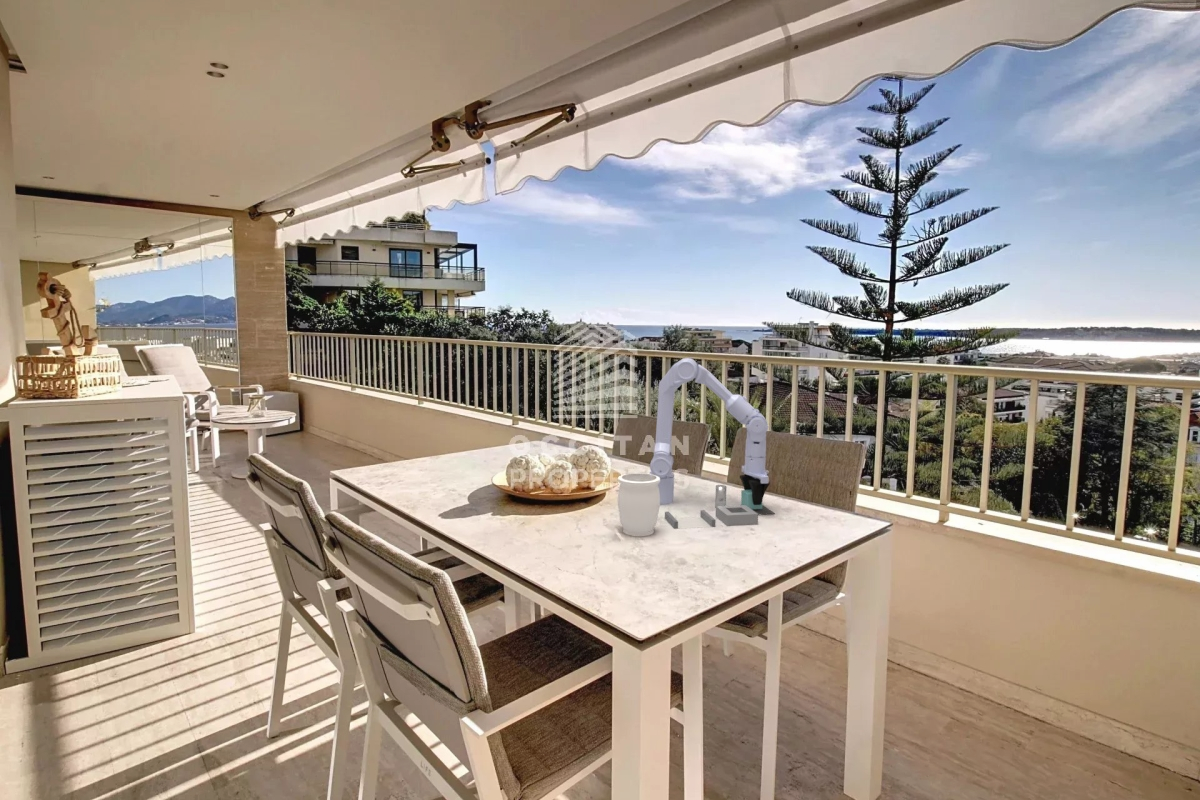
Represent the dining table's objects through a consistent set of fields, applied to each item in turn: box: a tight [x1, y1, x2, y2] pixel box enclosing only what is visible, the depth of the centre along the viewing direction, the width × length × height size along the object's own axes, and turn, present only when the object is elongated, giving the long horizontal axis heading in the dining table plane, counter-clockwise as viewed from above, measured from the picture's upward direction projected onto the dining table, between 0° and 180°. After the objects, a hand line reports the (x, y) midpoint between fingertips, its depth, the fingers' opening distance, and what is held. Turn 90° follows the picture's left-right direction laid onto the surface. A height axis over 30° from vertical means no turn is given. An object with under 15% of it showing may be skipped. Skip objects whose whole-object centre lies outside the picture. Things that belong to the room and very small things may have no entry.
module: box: [740, 489, 764, 509], centre depth 183 cm, size 4×4×4 cm
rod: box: [714, 484, 727, 509], centre depth 181 cm, size 3×3×8 cm
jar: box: [617, 472, 660, 537], centre depth 159 cm, size 11×10×15 cm
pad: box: [752, 504, 776, 516], centre depth 183 cm, size 9×9×1 cm
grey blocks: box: [664, 504, 759, 530], centre depth 169 cm, size 24×14×4 cm, turn 100°
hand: (753, 502), depth 183 cm, fingers closed on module, 4 cm apart
